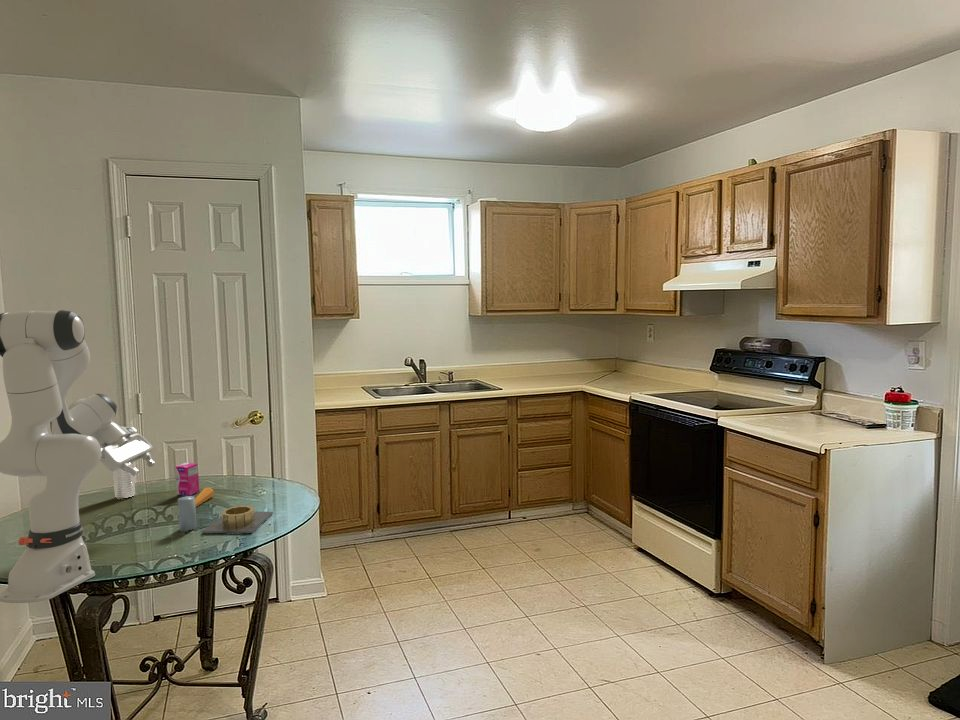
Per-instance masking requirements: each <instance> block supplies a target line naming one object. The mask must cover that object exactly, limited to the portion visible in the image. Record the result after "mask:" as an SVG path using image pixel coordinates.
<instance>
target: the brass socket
mask: <svg viewBox="0 0 960 720" xmlns="http://www.w3.org/2000/svg"><path fill="white" fill-rule="evenodd" d="M255 512H256V511H255V508H254V506H250V505H238V506H232V507H228V508H225V509H224V510H222V511H221V516H222V523H223V525H225V526H241V525H246V524H248V523H251V522H253V521H254V520H255Z"/></svg>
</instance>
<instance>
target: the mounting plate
mask: <svg viewBox="0 0 960 720" xmlns="http://www.w3.org/2000/svg"><path fill="white" fill-rule="evenodd" d="M254 512H255V520H254V521H253V522H251V523H248V524H246V525H241V526H225V525H223V523H222V515H221V516H220V517H219V518H217V519H216V520H215V521H213V522H211V524H209V525H208V526H207V527H205V528H204V529H203V530H201V534H202V533H252V534H253V533H254V532H256V531H257V530H258V529H259V528H260V527H261V526H262V525H263V524H264V523H265V522H266V521H265V520H267V519H268V518H269V517H270V516H271V515H272V514H273V515H274V512H273V511H254ZM273 515H272V516H273ZM272 516H271V517H272ZM271 517H270V518H271ZM270 518H269V519H270ZM269 519H268V520H269ZM264 521H265V522H264ZM263 522H264V523H263ZM262 523H263V524H262ZM261 524H262V525H261ZM260 525H261V526H260ZM259 526H260V527H259ZM258 527H259V528H258ZM257 528H258V529H257ZM256 529H257V530H256Z"/></svg>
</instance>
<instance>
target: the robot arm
mask: <svg viewBox="0 0 960 720" xmlns="http://www.w3.org/2000/svg"><path fill="white" fill-rule="evenodd" d="M83 321H84V320H83V319H82V317H81V316H79V315H78V314H77V313H75V312H74V311H70V310H64V309H63V310H62V309H61V310H34V309H32V310H22V311H21V310H20V311H14V312H3V313H0V356H1V357H2V374H3V375H2V376H3V381H4V388H5V392H6V395H7V401H8V404H9V409H10V416H11V425H10V430H9V432H8V434H7V435H6V436H5V438H4V439H3V440H1V441H0V473H1V474H3V475H8V476H13V477H14V476H15V477H19V478H20V477H21V478H26V477H27V478H29V477H31V478H32V477H46V485H45V487H44V488H43V489H42V490H40V491H38V492H37V493H35V494H34V495H33V496H32V497H31V498H30V500H29V502H28V507H27V508H28V516H29V526H30V527H29V528H30V529H29V531H28V534H27V537H25V536H21V537H19V538H18V545H20V546H26V549H25V550H24V551H23V553H22V554H21V556H20V557H19V558H18V560H17V562H16V563H15V564H14V566H13V567H12V569H11V570H10V571H9V573H8V576H7V577H8V580H7V588H6V589H4V590H3V591H1V593H0V603H7V604H28V603H31V604H32V603H38V602H44V601H48V600H52V599H53V598H55V597H56V596H59V595H60V594H62V593H63V594H64V593H65V592H67V591H68V590H71V589H72V588H74V587H76V586H78V585H80V584H82V583H84V582H86V581H88V580H89V579H91V578H93V577H95V576H96V573H95V570H93V569H92V567H91V566H92V565H91V562H90V556H89V551H88V547H87V545H86V544H85V541H84V539H83V537H82V535H83V534H84V533H83V525H82V524H83V523H82V520H80V511H79V510H80V509H79V506H80V504H79V495H80V490H81V486H82V484H83V482H84V480H85V479H86V477H87V476H89V474H90V473H91V472H92V471H94V470H95V468H97V466H98V465H99V463H100V462H101V463H102V464H103V465H104V467H106V468H107V469H108V470H109V471H111V472H113V471H116V470H118V469H120V468H121V469H122V470H123V471H126V472H128V473H130V474H131V475H132V476H134V477H135V476H137V475H138V474H139V473H140V470H139V469H138V468H137V467H134V466H133V467H131V466H129V464H130V463H132V462H133V463H134V462H136V461H138V460H140V459H142V460H144V461H145V462H146V466H147V467H149V468H151V467H154V466H155V465H156V461H155V460H153V458H152V455H151V452H152V451H153V449H154V447H153V445H152V443H151V442H149V441H148V439H146V438H145V437H144V436H143V435H141V434H140V433H137V432H138V430H137V428H135V427H133V426H130V427H129V426H123V425H122V426H120V424H117V423H116V422H115V421H113V419H114V418H115V417H116V415H117V412H118V411H117V410H118V407H117V404H116V403H115V402H114V401H113V399H111V398H110V397H109V396H108V395H106V394H103V393H94V394H91V395H90V396H87V398H85V397H84V398H80V399H77V400H75V401H73V403H71V404H70V406H68V404H67V399H66V398H67V395H68V394H67V393H68V392H69V390H70V389H71V387H72V386H73V385H74V384H75V382H76V381H77V380H78V379H79V378H80V377H81V376H82V375H83V374H84V373H85V372H86V370H87V369H88V366H90V362H91V352H90V348H89V346H88V344H87V341H86V340H85V335H86V333H85V332H86V330H85V325H84V322H83ZM48 424H49V425H50V426H49V427H50V428H49V429H50V432H51V433H49V431H48Z"/></svg>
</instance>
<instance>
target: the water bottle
mask: <svg viewBox="0 0 960 720" xmlns="http://www.w3.org/2000/svg"><path fill="white" fill-rule="evenodd" d="M129 466H131V467H133V468H134V462H132V463H130V464H129ZM112 478H113V479H112V480H113V488H114V498H115V497H116V498H128V497H132V496H134V495H135V496H136V486H135V476H132V475H131V474H130V473H128V472H126V471H123V470H122V469H121V468H120V469H118V470H116V471H112ZM135 496H134V497H135ZM116 498H115V499H116ZM132 498H133V497H132Z"/></svg>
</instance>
